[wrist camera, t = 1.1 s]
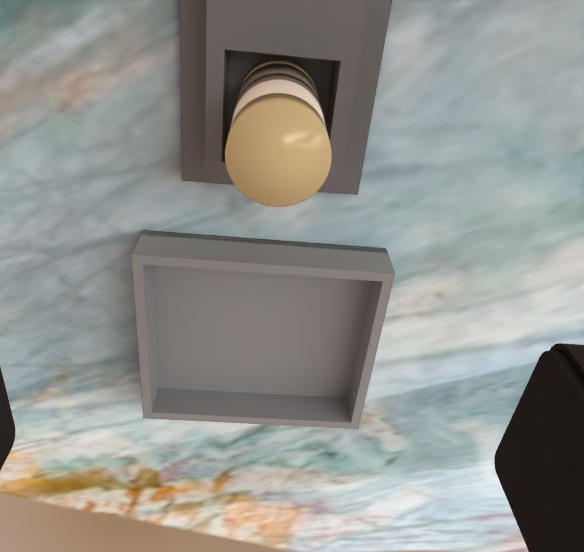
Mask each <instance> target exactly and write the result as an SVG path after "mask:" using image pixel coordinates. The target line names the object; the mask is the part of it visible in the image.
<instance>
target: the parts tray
mask: <svg viewBox="0 0 584 552" xmlns="http://www.w3.org/2000/svg"><path fill="white" fill-rule="evenodd" d="M131 258H132V272H133V285H134V299H135V312H136V326H137V340H138V353H139V367H140V380H141V394H142V408H143V418H151V419H171V420H191V421H211V422H230V423H250V424H270V425H290V426H309V427H329V428H349V429H358V427H359V423H360V419H361V415H362V410H363V406H364V402H365V398H366V394H367V389H368V385H369V381H370V377H371V372H372V368H373V364H374V360H375V356H376V351H377V347H378V343H379V339H380V335H381V330H382V326H383V322H384V318H385V313H386V309H387V305H388V301H389V297H390V292H391V288H392V284H393V280H394V275H395V273H394V270H393V267H392V264H391V261H390V258H389V255H388V253H387V250H386V249H385V248H372V247H358V246H345V245H332V244H319V243H305V242H292V241H279V240H266V239H252V238H239V237H226V236H212V235H199V234H186V233H173V232H159V231H146V230H143V231H142V233H141V235H140V237H139V239H138V241H137V243H136V246H135V248H134V250H133V252H132V254H131Z"/></svg>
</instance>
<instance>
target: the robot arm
mask: <svg viewBox="0 0 584 552" xmlns="http://www.w3.org/2000/svg"><path fill="white" fill-rule="evenodd" d="M14 439H15V425H14V420H13V416H12V412H11V408H10V404H9V400H8V396H7V392H6V388H5V384H4V380H3V376H2V372H1V368H0V470H1V468H2V466H3V464H4V462H5V460H6V458H7V456H8V455H9V453H10V451H11V448H12V446H13V443H14ZM495 469H496V473H497V475H498V478H499V480H500V483H501V485H502V488H503V490H504V492H505V495H506V497H507V500H508V502H509V504H510V507H511V509H512V512H513V514H514V517H515V519H516V521H517V524H518V526H519V529H520V531H521V533H522V536H523V538H524V541H525V543H526V546H527V548H528V550H529V552H584V345H575V344H561V343H560V344H555V345H554V346H553V347H551V349H550V350H549V351H545V352H544V353H542V355H541V356H540V358H539V360H538V362H537V364H536V367H535V369H534V371H533V373H532V375H531V377H530V379H529V382H528V384H527V386H526V388H525V390H524V392H523V395H522V397H521V399H520V401H519V403H518V405H517V408H516V410H515V412H514V414H513V416H512V418H511V420H510V423H509V425H508V427H507V429H506V431H505V433H504V436H503V438H502V440H501V442H500V444H499V446H498V449H497V451H496V454H495Z"/></svg>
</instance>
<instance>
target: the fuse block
mask: <svg viewBox="0 0 584 552" xmlns="http://www.w3.org/2000/svg"><path fill="white" fill-rule="evenodd" d="M391 3H392V0H180V54H181V128H182V180H184V181H196V182H208V183H220V184H232V185H235V184H234V183H233V181H232V180H231V178H230V176H229V173H228V170H227V167H226V162H225V148H226V143H227V139H228V135H229V131H230V127H231V123H232V119H233V114H234V110H235V106H236V103H237V100H238V96H239V92H240V88H241V84H242V81H243V79H244V77H245V75H246V74H247V72H248V71H249V70H250V69H251V68H252V67H253V66H254V65H255V64H257V63H258V62H260V61H262V60H264V59H267V58H271V57H284V58H289V59H292V60H294V61H296V62H298V63H299V64H301V65H302V66H303V67H304V68H305V69H306V70H307V71H308V72H309V74H310V75H311V77H312V79H313V81H314V83H315V86H316V90H317V94H318V98H319V102H320V105H321V108H322V112H323V116H324V121H325V125H326V129H327V133H328V137H329V141H330V145H331V152H332V159H331V166H330V170H329V173H328V176H327V178H326V180H325V181H324V183H323V184H322V186H321V187H320V188H319V189H318V190H317V192H329V193H342V194H354V195H358V190H359V184H360V179H361V173H362V167H363V162H364V156H365V150H366V145H367V139H368V133H369V128H370V122H371V116H372V111H373V105H374V99H375V94H376V88H377V82H378V77H379V71H380V65H381V60H382V54H383V48H384V43H385V37H386V31H387V26H388V20H389V14H390V9H391Z"/></svg>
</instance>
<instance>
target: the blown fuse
mask: <svg viewBox="0 0 584 552" xmlns="http://www.w3.org/2000/svg"><path fill="white" fill-rule="evenodd" d="M331 159H332V152H331V145H330V141H329V137H328V133H327V129H326V125H325V121H324V116H323V112H322V108H321V105H320V102H319V98H318V94H317V90H316V86H315V83H314V81H313V79H312V77H311V75H310V74H309V72H308V71H307V70H306V69H305V68H304V67H303V66H302V65H301V64H299V63H298V62H296V61H294V60H292V59H289V58H284V57H271V58H267V59H264V60H262V61H260V62H258V63H257V64H255V65H254V66H253V67H252V68H251V69H250V70H249V71H248V72H247V74H246V75H245V77H244V79H243V81H242V84H241V88H240V92H239V96H238V100H237V103H236V106H235V110H234V114H233V119H232V123H231V127H230V131H229V135H228V139H227V143H226V148H225V162H226V167H227V170H228V173H229V176H230V178H231V180H232V181H233V183H234V184H235V186H236V187H237V188H238V189H239V190H240V191H241V192H242V193H243V194H244V195H245V196H247V197H248V198H250V199H251V200H253V201H255V202H257V203H260V204H263V205H267V206H273V207H284V206H290V205H294V204H297V203H300V202H302V201H304V200H306V199H308V198H309V197H311V196H312V195H313V194H314V193H315V192H317V190H318V189H319V188H320V187H321V186H322V184H323V183H324V181H325V180H326V178H327V176H328V173H329V170H330V166H331Z"/></svg>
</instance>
